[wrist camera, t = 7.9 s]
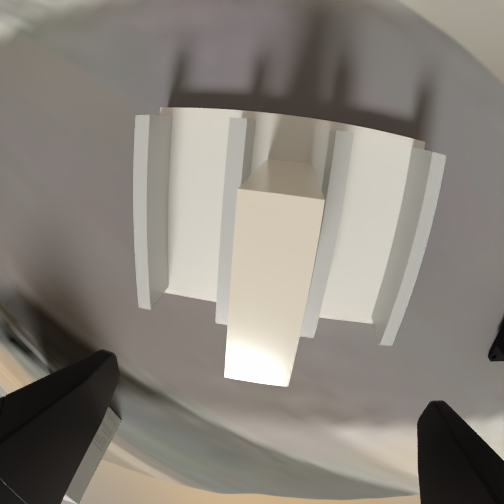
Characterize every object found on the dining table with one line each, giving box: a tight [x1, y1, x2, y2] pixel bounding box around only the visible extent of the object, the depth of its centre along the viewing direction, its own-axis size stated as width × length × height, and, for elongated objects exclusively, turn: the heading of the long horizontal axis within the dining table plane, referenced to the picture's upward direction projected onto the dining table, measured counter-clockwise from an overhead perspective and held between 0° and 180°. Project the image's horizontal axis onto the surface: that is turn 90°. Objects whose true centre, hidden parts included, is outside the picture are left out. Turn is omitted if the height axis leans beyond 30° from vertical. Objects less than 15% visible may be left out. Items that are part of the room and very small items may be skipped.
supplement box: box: [63, 406, 121, 504], centre depth 24 cm, size 7×7×13 cm
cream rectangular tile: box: [225, 159, 325, 387], centre depth 14 cm, size 2×7×9 cm, turn 175°
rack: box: [133, 107, 446, 346], centre depth 17 cm, size 15×12×4 cm
